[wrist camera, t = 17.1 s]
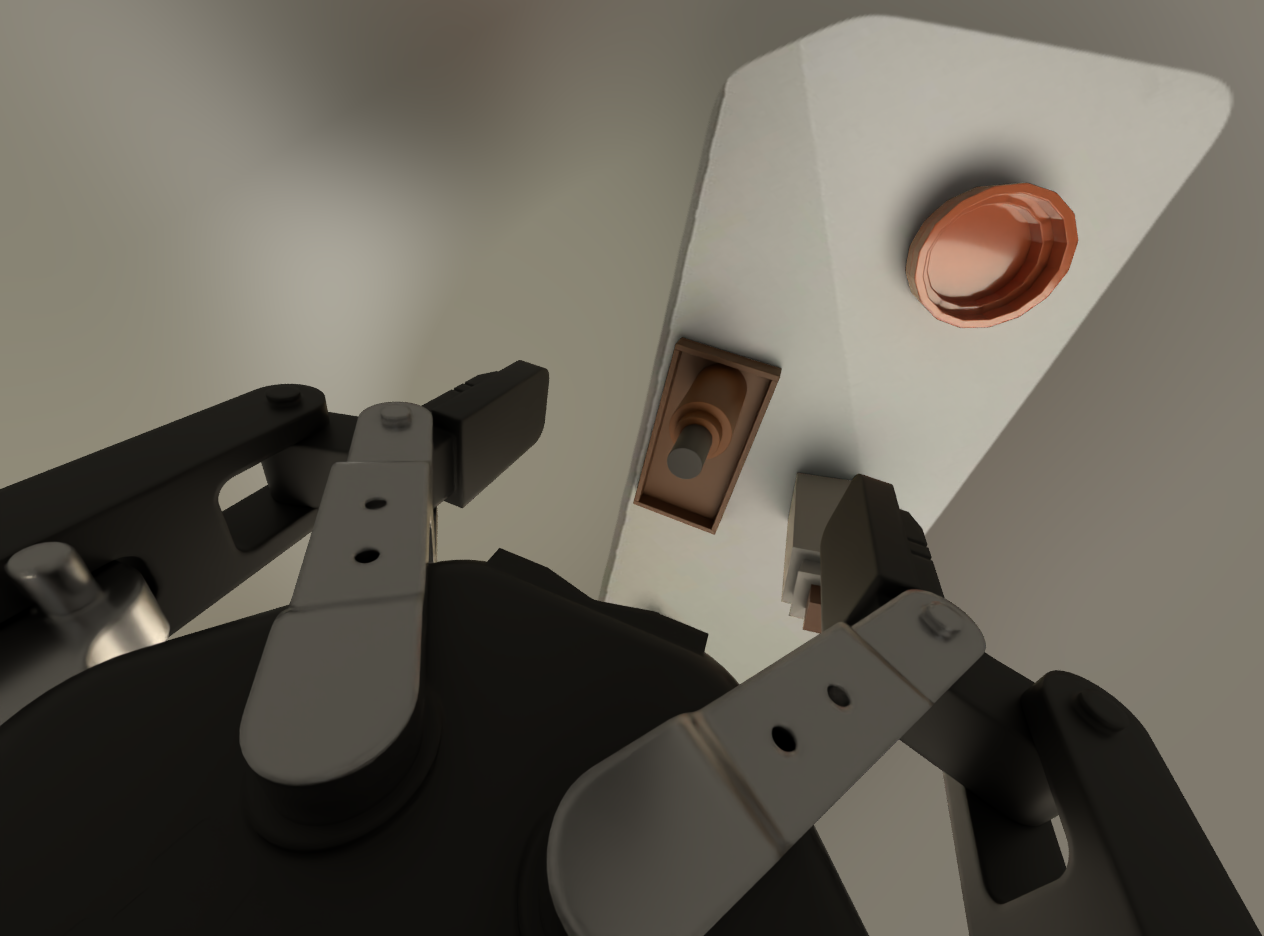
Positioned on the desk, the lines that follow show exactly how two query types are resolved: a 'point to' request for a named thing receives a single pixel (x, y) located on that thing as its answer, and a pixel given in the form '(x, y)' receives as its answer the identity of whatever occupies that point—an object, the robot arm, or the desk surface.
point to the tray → (715, 483)
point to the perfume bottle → (808, 544)
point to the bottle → (705, 419)
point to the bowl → (991, 254)
